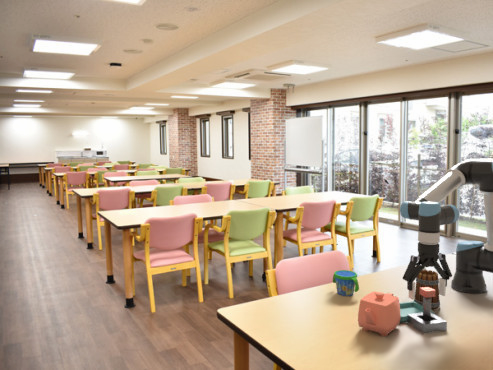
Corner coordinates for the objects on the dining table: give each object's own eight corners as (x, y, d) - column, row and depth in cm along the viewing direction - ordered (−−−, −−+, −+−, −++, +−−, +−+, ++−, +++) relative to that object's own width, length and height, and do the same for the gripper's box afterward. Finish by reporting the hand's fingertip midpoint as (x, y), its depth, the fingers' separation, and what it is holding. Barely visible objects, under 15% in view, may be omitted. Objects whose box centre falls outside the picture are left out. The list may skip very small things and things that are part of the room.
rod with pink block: (427, 323, 162) (428, 286, 161) (435, 328, 158) (436, 290, 156) (417, 324, 161) (418, 287, 160) (425, 329, 157) (426, 291, 155)
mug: (442, 311, 174) (443, 276, 172) (416, 309, 176) (417, 275, 175) (433, 298, 189) (434, 266, 188) (409, 296, 191) (410, 265, 190)
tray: (413, 306, 179) (413, 301, 179) (434, 318, 167) (434, 312, 166) (381, 310, 175) (381, 305, 175) (399, 323, 163) (399, 317, 163)
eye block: (428, 319, 166) (429, 311, 165) (446, 330, 156) (446, 321, 156) (407, 322, 163) (407, 314, 163) (423, 333, 153) (424, 324, 153)
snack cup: (365, 297, 191) (365, 276, 190) (346, 301, 187) (346, 279, 186) (344, 287, 205) (344, 267, 204) (326, 290, 201) (326, 270, 200)
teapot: (382, 345, 145) (382, 306, 144) (349, 334, 154) (350, 297, 152) (406, 324, 162) (406, 289, 160) (375, 316, 170) (375, 282, 169)
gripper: (449, 238, 163) (447, 290, 165) (393, 242, 157) (392, 296, 159) (463, 242, 156) (461, 296, 158) (406, 246, 150) (404, 303, 152)
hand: (426, 296), depth 158 cm, fingers open, 13 cm apart
